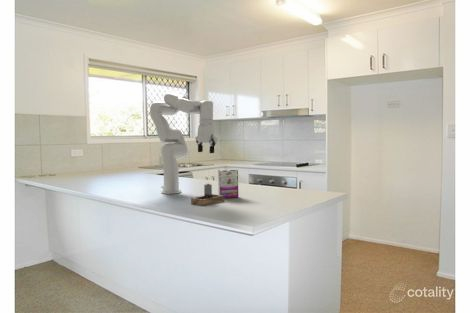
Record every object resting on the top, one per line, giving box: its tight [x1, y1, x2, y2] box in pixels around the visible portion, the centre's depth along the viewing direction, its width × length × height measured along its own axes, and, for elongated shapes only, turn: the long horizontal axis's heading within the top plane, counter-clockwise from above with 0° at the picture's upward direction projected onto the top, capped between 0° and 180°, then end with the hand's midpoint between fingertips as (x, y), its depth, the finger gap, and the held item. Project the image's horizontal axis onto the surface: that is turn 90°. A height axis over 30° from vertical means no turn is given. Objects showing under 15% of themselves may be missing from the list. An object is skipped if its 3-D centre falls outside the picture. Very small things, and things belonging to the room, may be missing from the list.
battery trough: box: [190, 193, 225, 207], centre depth 187 cm, size 9×16×3 cm, turn 140°
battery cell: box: [203, 183, 213, 199], centre depth 187 cm, size 4×4×10 cm
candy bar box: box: [217, 168, 239, 199], centre depth 201 cm, size 11×5×16 cm, turn 105°
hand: (206, 152), depth 197 cm, fingers open, 9 cm apart
